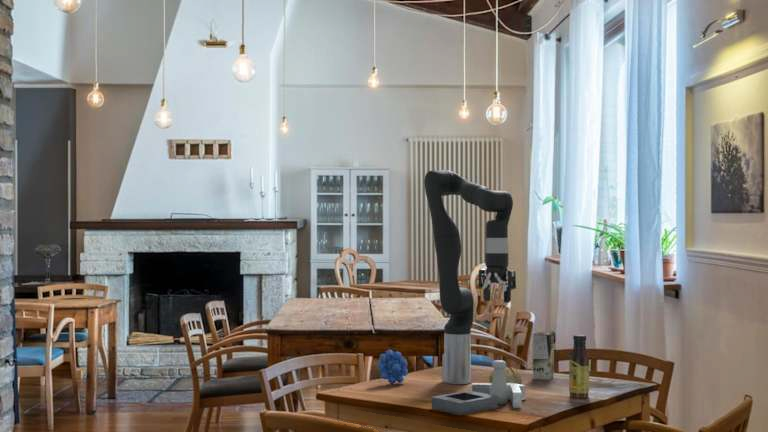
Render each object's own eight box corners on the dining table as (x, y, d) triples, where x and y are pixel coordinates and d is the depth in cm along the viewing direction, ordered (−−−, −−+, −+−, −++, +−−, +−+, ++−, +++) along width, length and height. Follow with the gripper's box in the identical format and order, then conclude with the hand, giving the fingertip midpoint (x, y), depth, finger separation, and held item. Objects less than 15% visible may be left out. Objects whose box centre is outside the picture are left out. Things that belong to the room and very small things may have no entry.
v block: (517, 408, 248) (517, 393, 249) (468, 397, 264) (468, 383, 264) (543, 403, 256) (543, 388, 256) (494, 393, 272) (494, 379, 272)
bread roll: (509, 386, 285) (509, 362, 286) (529, 394, 271) (529, 369, 271) (483, 387, 283) (483, 364, 283) (502, 396, 268) (502, 371, 268)
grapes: (382, 387, 282) (382, 352, 282) (374, 384, 288) (374, 349, 288) (413, 384, 287) (413, 350, 287) (404, 381, 293) (404, 347, 293)
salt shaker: (508, 405, 253) (508, 362, 254) (489, 404, 255) (489, 361, 255) (509, 401, 259) (509, 359, 259) (490, 400, 260) (490, 358, 261)
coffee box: (550, 380, 296) (550, 335, 297) (532, 379, 298) (532, 334, 299) (554, 376, 305) (554, 332, 305) (536, 375, 307) (536, 331, 307)
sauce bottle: (566, 395, 270) (566, 333, 270) (585, 394, 270) (585, 333, 270) (572, 399, 263) (572, 336, 263) (592, 398, 264) (591, 335, 264)
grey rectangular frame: (431, 408, 248) (431, 396, 248) (469, 401, 258) (469, 390, 258) (460, 415, 239) (460, 403, 239) (497, 407, 249) (497, 396, 249)
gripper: (521, 252, 267) (521, 302, 267) (488, 251, 278) (488, 299, 278) (505, 252, 263) (505, 303, 262) (472, 251, 274) (472, 301, 273)
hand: (496, 301), depth 270 cm, fingers open, 8 cm apart
